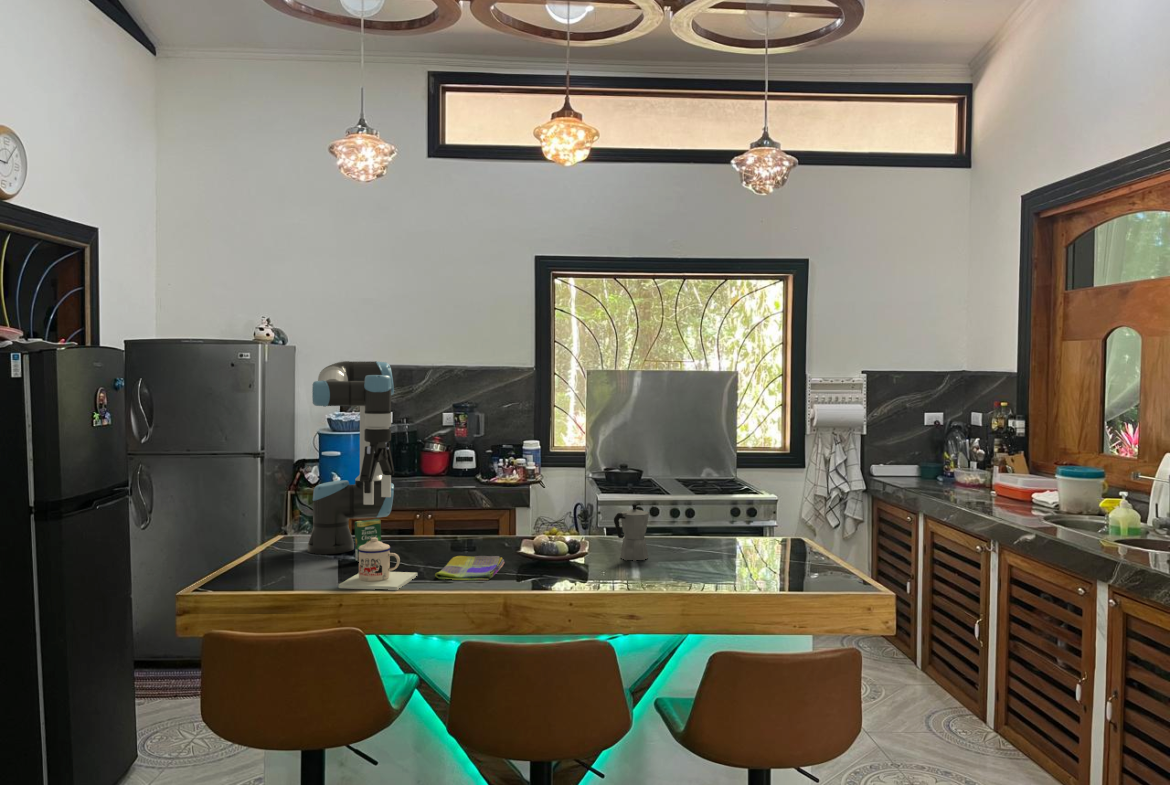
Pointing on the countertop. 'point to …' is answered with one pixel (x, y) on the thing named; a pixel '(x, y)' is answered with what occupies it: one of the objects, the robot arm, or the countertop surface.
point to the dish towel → (471, 568)
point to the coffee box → (366, 533)
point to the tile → (391, 583)
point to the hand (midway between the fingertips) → (377, 500)
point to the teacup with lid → (375, 561)
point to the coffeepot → (633, 533)
